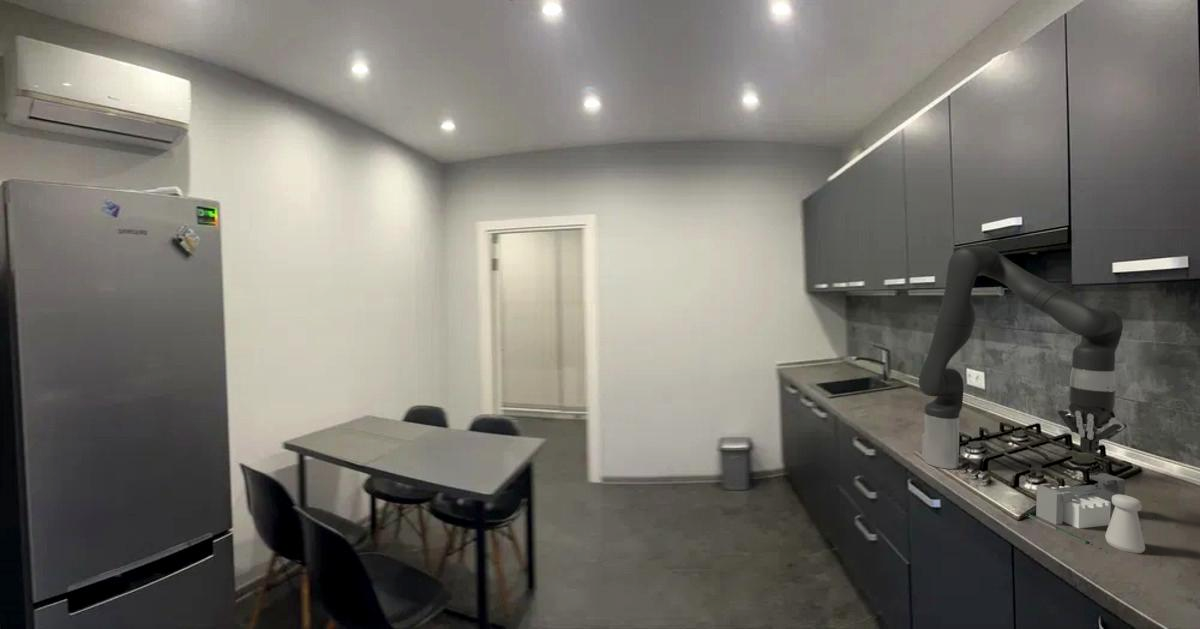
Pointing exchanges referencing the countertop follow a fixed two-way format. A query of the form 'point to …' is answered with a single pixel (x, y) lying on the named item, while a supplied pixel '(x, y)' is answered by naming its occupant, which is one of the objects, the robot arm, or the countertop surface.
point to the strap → (1080, 490)
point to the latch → (1109, 487)
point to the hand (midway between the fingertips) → (1089, 452)
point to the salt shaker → (1125, 525)
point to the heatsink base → (1070, 509)
